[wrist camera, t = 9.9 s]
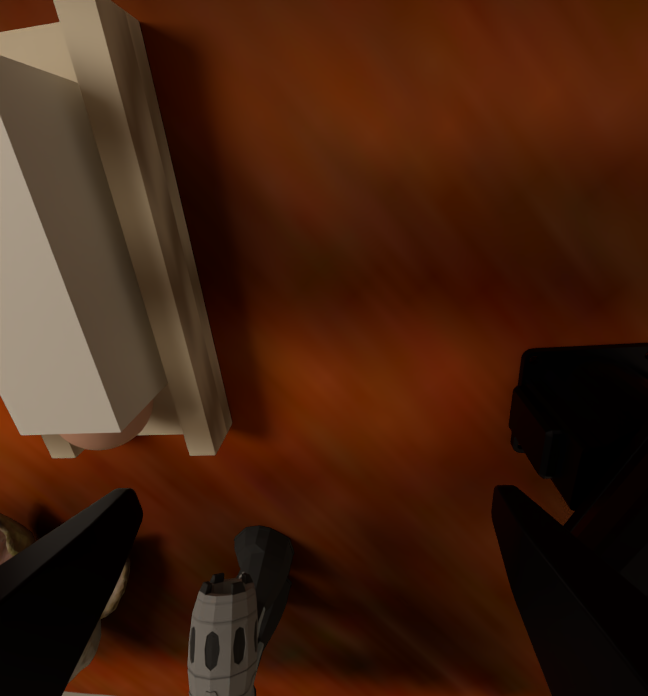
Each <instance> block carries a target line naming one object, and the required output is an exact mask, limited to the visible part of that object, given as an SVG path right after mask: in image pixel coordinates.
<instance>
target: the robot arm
mask: <svg viewBox="0 0 648 696" xmlns="http://www.w3.org/2000/svg"><path fill="white" fill-rule="evenodd" d="M647 352H648V343H635V344H615V345H594V346H574V347H554V348H533V349H528V350H527V351H525V352H524V353H523V355H522V357H521V365H520V373H519V380H518V386H516V387H515V388H514V390H513V395H512V403H511V411H510V419H509V428H510V429H511V431H512V434H511V445H512V447H513V449H514V450H515V451H516V452H518V453H525V454H526V455H527V457H528V459H529V460H530V462H531V464H532V465H533V467H534V469H535V470H536V472H537V473H538V474H539V475H540V476H541V477H542V478H543V479H549V478H551V480H552V481H553V483H554V485H555V486H556V488H557V489H558V491H559V492H560V494H561V495H562V497H563V498H564V500H565V502H566V503H567V505H568V506H569V508H570V509H571V510H573V511H575V512H574V513H573V514H572V516H571V517H570V518H569V519H568V521H567V522H566V523H565V524H564V526H562V525H561V524H560V523H559V522H558V521H556V520H555V519H554V518H553V517H552V516H550V515H549V514H548V513H547V512H546V511H545V510H543V509H542V508H541V507H540V506H539V505H537V504H536V503H535V502H534V501H533V500H531V499H530V498H529V497H528V496H527V495H525V494H524V493H523V492H522V491H521V490H519V489H518V488H517V487H516V486H514V485H497V486H495V488H494V493H493V502H492V511H491V513H492V521H493V525H494V528H495V532H496V536H497V539H498V543H499V547H500V550H501V554H502V558H503V561H504V565H505V569H506V572H507V576H508V580H509V583H510V587H511V590H512V593H513V596H514V598H515V601H516V604H517V607H518V609H519V612H520V614H521V617H522V619H523V622H524V625H525V627H526V630H527V632H528V635H529V638H530V640H531V643H532V645H533V648H534V651H535V653H536V656H537V658H538V661H539V663H540V666H541V669H542V671H543V674H544V676H545V679H546V682H547V684H548V687H549V689H550V692H551V695H552V696H648V355H647V356H645V354H646V353H647ZM533 356H537V357H536V359H535V360H534V361H531V362H530V361H529V360H530V358H532V357H533ZM518 444H520V445H518ZM142 518H143V510H142V508H141V505H140V503H139V500H138V497H137V495H136V492H135V491H134V490H133V489H131V488H118V489H115V490H113V491H112V492H110V493H109V494H107V495H106V496H104V497H103V498H101V499H100V500H98V501H97V502H95V503H94V504H92V505H91V506H89V507H87V508H86V509H84V510H83V511H81V512H80V513H78V514H77V515H75V516H74V517H72V518H71V519H69V520H68V521H66V522H65V523H63V524H62V525H60V526H59V527H57V528H56V529H54V530H53V531H51V532H50V533H48V534H46V535H45V536H43V537H42V538H40V539H39V540H37V541H36V542H34V543H33V544H31V545H30V546H28V547H27V548H25V549H24V550H22V551H21V552H19V553H18V554H16V555H15V556H13V557H12V558H10V559H9V560H7V561H6V562H4V563H2V564H1V565H0V696H62V694H63V692H64V690H65V688H66V686H67V684H68V682H69V680H70V678H71V676H72V674H73V672H74V670H75V668H76V666H77V664H78V662H79V660H80V658H81V656H82V654H83V652H84V650H85V648H86V646H87V644H88V642H89V640H90V638H91V636H92V633H93V631H94V629H95V627H96V625H97V623H98V621H99V619H100V617H101V615H102V613H103V611H104V609H105V607H106V605H107V603H108V601H109V599H110V597H111V595H112V593H113V591H114V589H115V587H116V585H117V583H118V580H119V578H120V576H121V573H122V571H123V568H124V566H125V563H126V561H127V558H128V555H129V553H130V550H131V548H132V545H133V543H134V540H135V537H136V535H137V532H138V530H139V527H140V525H141V522H142Z"/></svg>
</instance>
